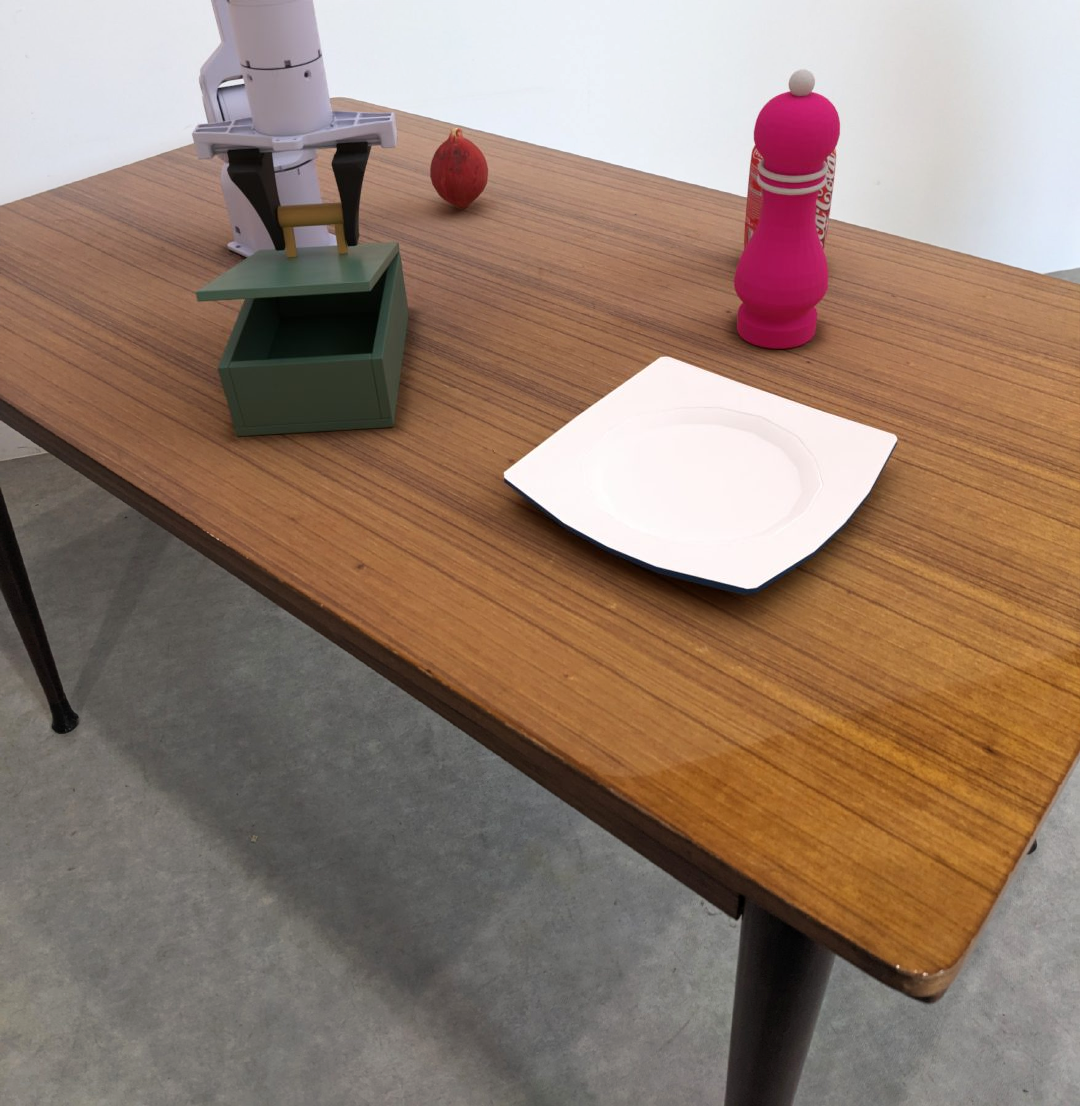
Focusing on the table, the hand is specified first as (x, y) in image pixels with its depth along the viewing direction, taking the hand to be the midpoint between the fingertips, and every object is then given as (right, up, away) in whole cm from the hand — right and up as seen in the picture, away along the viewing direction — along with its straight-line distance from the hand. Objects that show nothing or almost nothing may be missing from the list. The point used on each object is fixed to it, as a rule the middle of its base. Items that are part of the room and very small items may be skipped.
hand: (317, 243), depth 82 cm
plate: (+28, -20, -12) cm, 37 cm away
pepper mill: (+37, -6, +3) cm, 37 cm away
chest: (+1, -10, +2) cm, 10 cm away
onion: (+10, +11, +25) cm, 29 cm away
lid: (0, -3, -4) cm, 5 cm away
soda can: (+39, +1, +12) cm, 41 cm away
